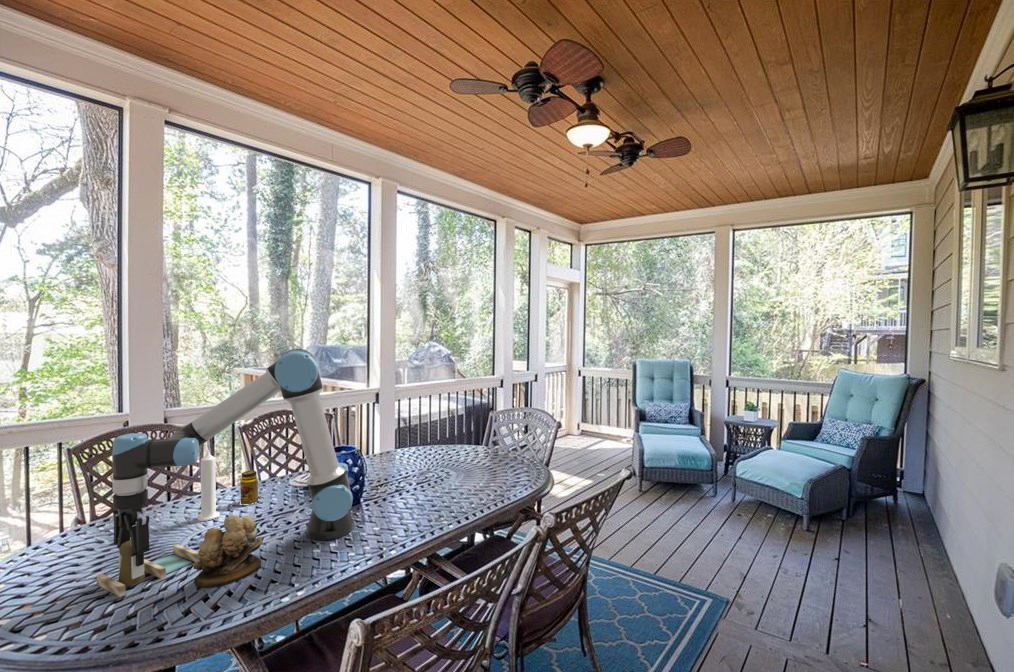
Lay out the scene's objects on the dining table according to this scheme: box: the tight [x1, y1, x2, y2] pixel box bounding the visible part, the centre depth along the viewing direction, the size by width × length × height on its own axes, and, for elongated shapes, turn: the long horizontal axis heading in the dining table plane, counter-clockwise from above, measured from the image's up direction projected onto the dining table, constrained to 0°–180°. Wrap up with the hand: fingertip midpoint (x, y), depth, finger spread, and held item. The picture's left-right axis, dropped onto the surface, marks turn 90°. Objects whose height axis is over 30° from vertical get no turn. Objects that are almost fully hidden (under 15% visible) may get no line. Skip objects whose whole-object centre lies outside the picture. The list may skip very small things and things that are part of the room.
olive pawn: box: [117, 539, 146, 588], centre depth 131 cm, size 6×6×11 cm
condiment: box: [239, 470, 262, 505], centre depth 188 cm, size 7×8×12 cm
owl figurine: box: [192, 514, 264, 589], centre depth 135 cm, size 18×12×17 cm, turn 142°
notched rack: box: [95, 543, 200, 598], centre depth 139 cm, size 12×30×2 cm, turn 154°
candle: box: [196, 449, 221, 522], centre depth 172 cm, size 7×7×25 cm
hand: (131, 573), depth 131 cm, fingers open, 6 cm apart
